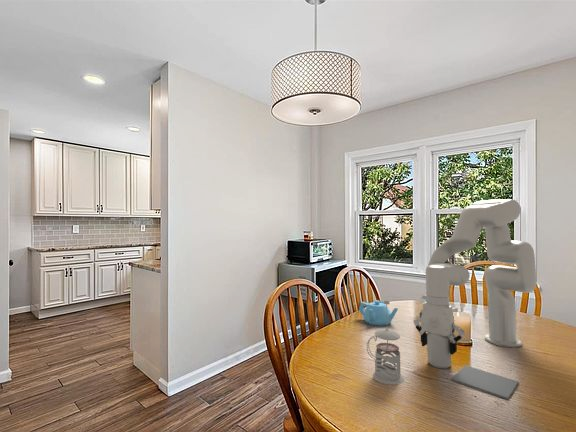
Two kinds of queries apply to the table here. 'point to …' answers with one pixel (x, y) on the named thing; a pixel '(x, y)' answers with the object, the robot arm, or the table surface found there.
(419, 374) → the table surface
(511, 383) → the mat
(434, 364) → the can
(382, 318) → the teapot
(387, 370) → the french press
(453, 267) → the robot arm
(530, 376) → the table surface
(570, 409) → the table surface
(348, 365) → the table surface
